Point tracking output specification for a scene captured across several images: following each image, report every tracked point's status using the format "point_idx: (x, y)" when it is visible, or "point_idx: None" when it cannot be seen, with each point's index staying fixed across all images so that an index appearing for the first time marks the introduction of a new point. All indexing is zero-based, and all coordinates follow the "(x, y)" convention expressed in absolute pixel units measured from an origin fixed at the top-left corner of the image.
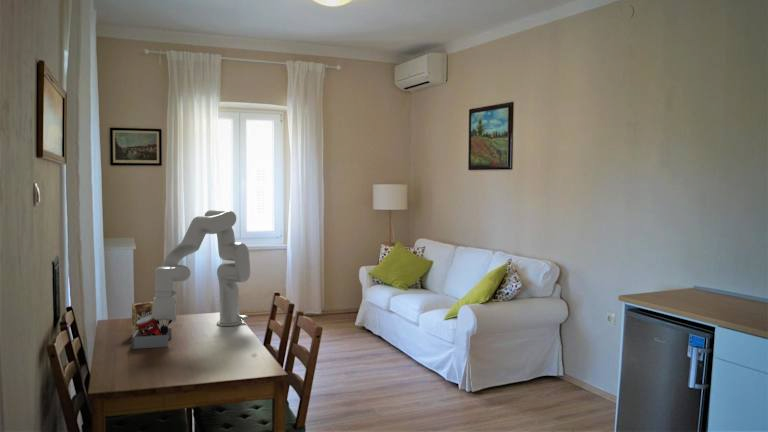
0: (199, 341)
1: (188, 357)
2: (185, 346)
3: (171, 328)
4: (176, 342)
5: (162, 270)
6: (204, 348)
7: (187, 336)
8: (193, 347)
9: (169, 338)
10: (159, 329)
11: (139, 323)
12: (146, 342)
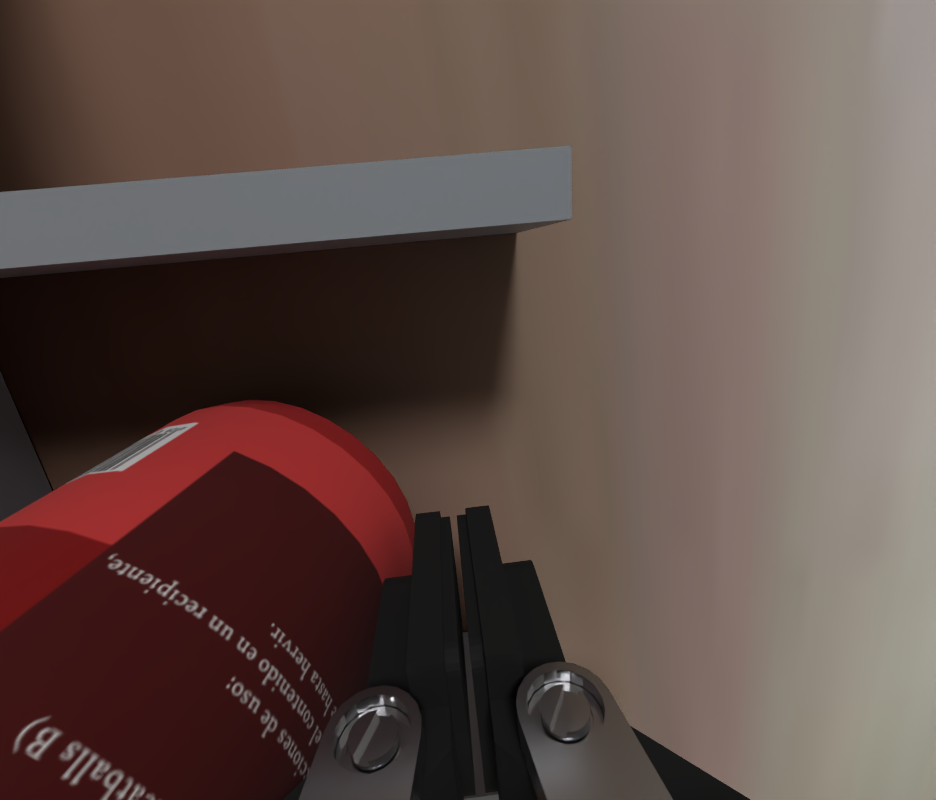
0: (913, 471)
1: None
2: (728, 655)
3: (562, 164)
4: (617, 481)
5: None
6: (904, 730)
7: (785, 112)
8: (807, 694)
9: (483, 235)
10: (352, 674)
11: None
12: None
